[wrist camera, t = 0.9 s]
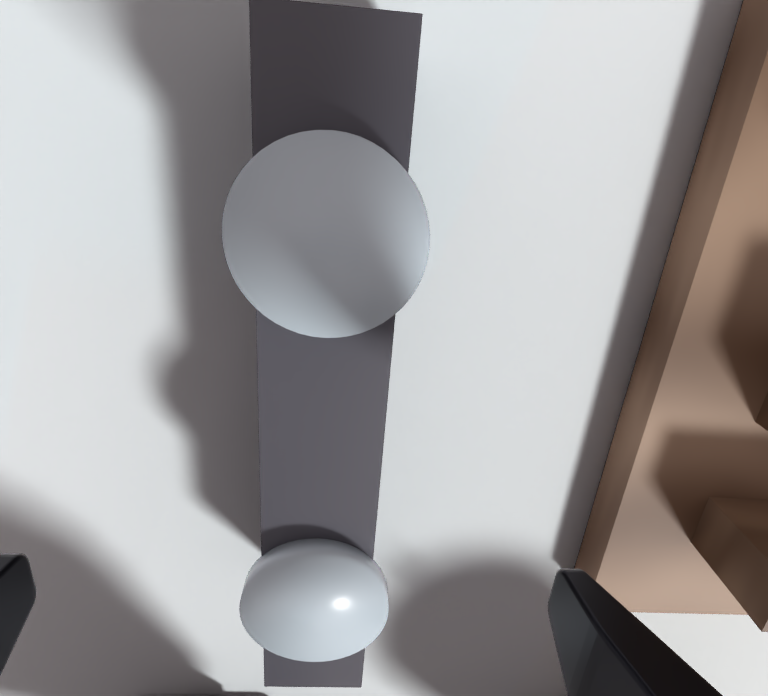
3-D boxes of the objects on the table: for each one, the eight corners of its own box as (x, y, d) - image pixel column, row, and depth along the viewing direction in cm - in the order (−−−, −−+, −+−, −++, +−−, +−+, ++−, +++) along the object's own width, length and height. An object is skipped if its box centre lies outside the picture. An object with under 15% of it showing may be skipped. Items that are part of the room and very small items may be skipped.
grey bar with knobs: (374, 573, 20) (377, 707, 15) (272, 570, 20) (244, 706, 15) (422, 51, 13) (456, 8, 8) (265, 37, 13) (209, -16, 8)
